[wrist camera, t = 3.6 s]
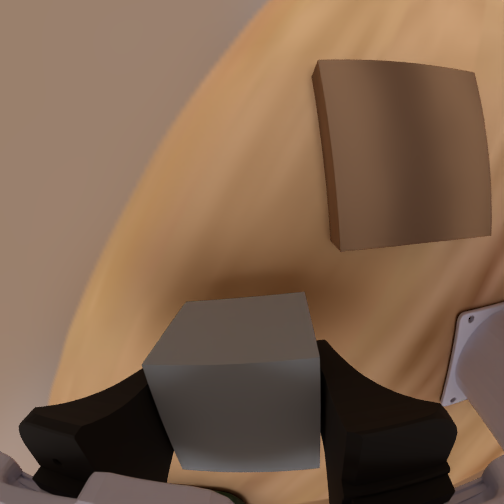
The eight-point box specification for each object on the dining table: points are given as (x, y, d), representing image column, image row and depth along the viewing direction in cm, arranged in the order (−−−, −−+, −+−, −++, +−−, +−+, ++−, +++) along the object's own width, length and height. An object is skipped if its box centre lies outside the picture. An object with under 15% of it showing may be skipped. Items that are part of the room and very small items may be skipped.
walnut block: (449, 84, 14) (474, 72, 11) (463, 226, 16) (491, 235, 13) (310, 79, 15) (317, 59, 12) (329, 239, 17) (340, 251, 14)
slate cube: (304, 291, 13) (319, 357, 8) (309, 388, 14) (319, 467, 9) (185, 301, 13) (141, 364, 8) (207, 393, 14) (182, 469, 9)
